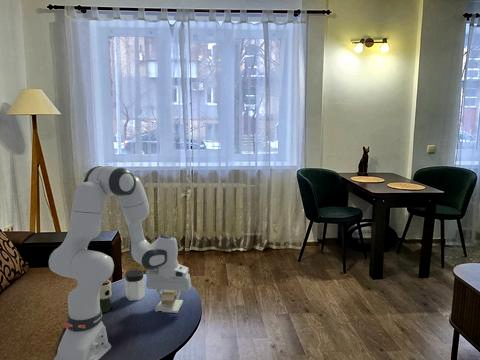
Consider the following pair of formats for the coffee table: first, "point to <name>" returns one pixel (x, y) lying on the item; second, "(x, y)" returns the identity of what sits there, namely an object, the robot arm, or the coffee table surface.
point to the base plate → (169, 307)
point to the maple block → (168, 297)
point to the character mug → (105, 296)
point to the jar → (134, 285)
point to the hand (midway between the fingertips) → (169, 298)
